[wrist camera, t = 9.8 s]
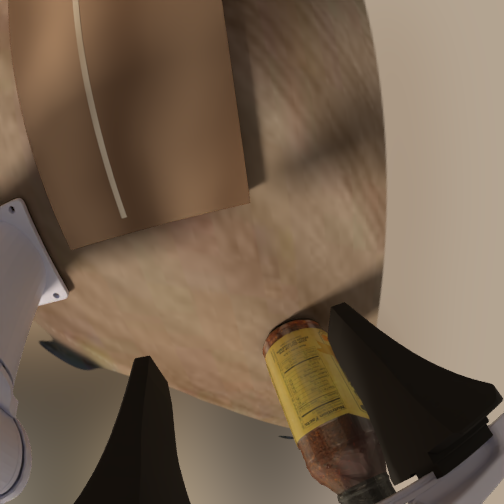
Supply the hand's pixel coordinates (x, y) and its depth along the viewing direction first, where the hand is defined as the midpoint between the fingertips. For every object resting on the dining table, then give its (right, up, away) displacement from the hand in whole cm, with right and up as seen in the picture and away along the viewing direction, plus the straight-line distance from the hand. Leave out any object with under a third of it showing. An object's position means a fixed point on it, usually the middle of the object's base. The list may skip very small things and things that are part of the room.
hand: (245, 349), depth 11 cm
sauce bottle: (+4, -4, +16) cm, 17 cm away
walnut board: (-7, +15, 0) cm, 16 cm away
